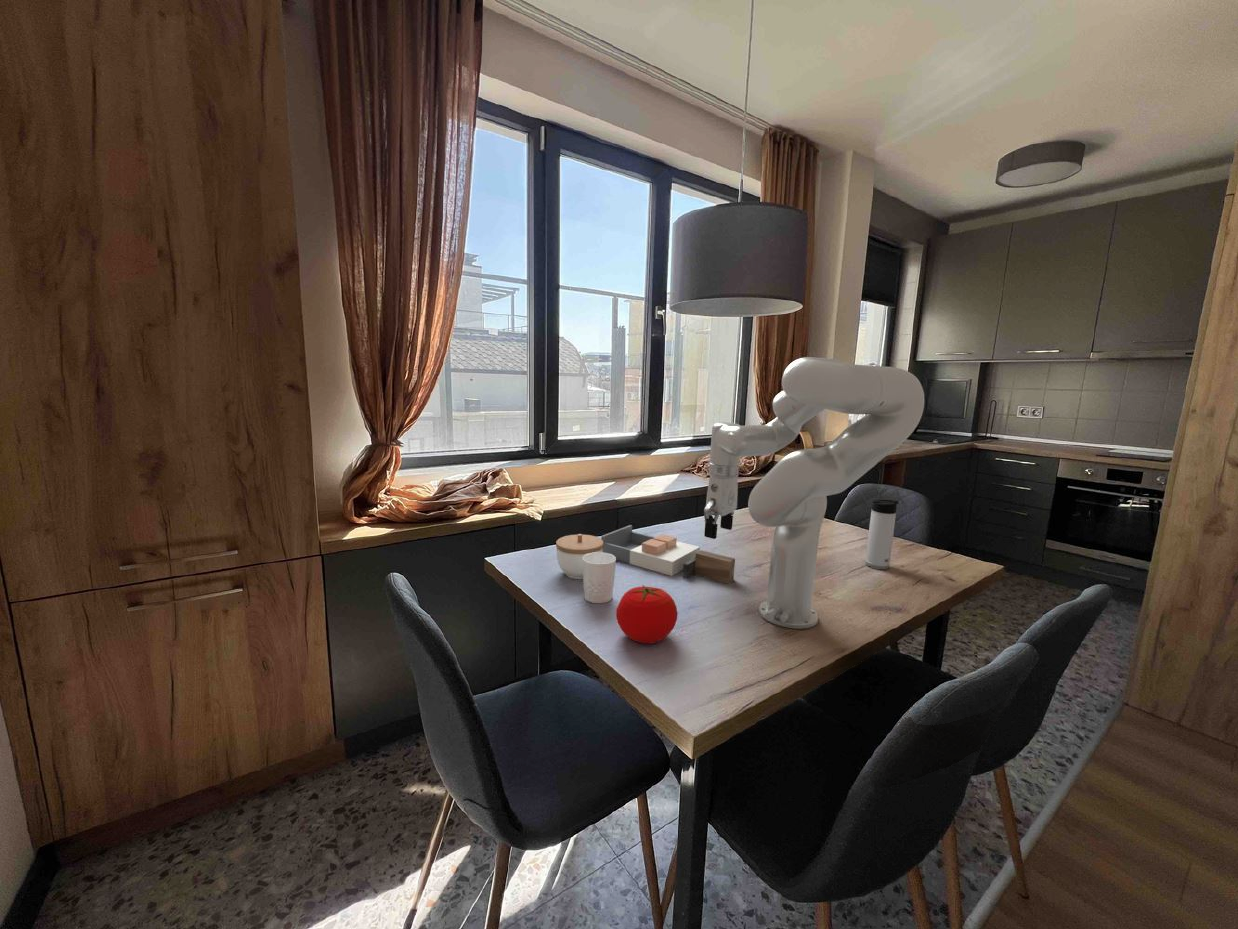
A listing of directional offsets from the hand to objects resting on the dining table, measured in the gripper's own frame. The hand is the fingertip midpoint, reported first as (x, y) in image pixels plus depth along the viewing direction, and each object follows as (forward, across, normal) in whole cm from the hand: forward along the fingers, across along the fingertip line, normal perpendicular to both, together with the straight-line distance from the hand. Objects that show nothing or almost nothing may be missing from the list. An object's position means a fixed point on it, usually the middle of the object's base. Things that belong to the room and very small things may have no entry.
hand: (718, 533), depth 129 cm
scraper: (+12, 0, 0) cm, 12 cm away
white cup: (+13, -30, +16) cm, 37 cm away
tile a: (+9, -3, +18) cm, 20 cm away
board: (+13, +1, +16) cm, 21 cm away
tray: (+13, 0, +28) cm, 31 cm away
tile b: (+9, +3, +18) cm, 20 cm away
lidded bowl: (+13, -22, +29) cm, 39 cm away
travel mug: (+12, +39, -34) cm, 53 cm away
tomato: (+12, -38, -3) cm, 40 cm away
